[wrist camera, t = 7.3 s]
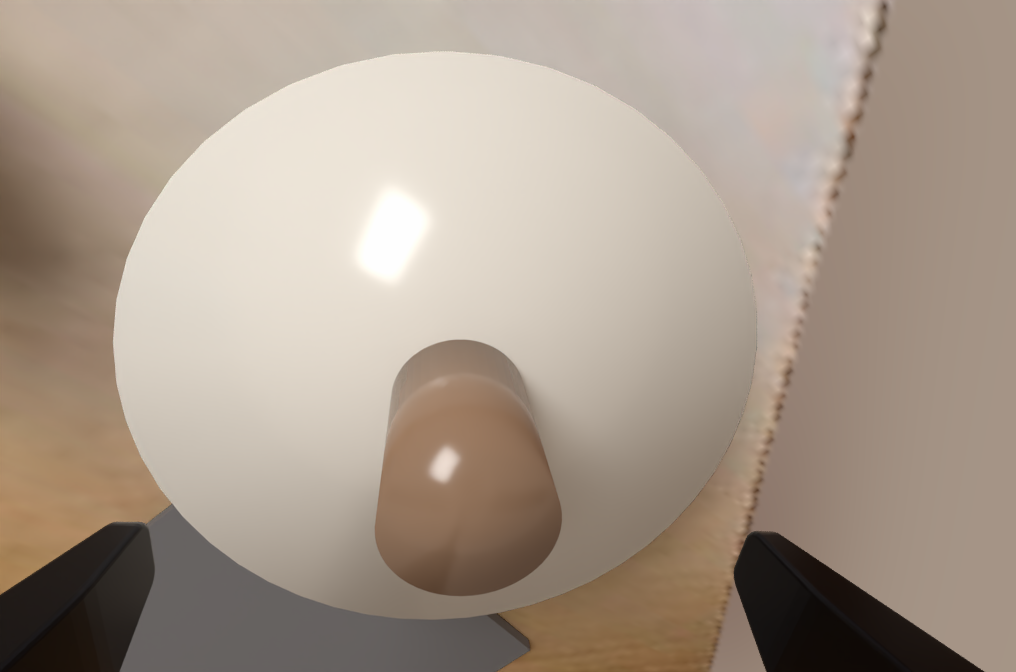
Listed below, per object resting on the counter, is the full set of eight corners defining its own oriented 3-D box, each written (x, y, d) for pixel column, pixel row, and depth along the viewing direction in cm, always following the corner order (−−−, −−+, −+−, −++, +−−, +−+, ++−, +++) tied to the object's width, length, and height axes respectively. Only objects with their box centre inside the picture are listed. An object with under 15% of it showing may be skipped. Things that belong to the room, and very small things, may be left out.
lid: (821, 399, 15) (987, 535, 11) (426, 657, 17) (424, 859, 13) (513, -130, 10) (586, -320, 5) (-12, 351, 12) (-284, 519, 7)
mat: (528, 639, 25) (530, 650, 24) (283, 794, 27) (281, 806, 27) (268, 428, 19) (264, 437, 18) (-16, 650, 21) (-26, 663, 21)
